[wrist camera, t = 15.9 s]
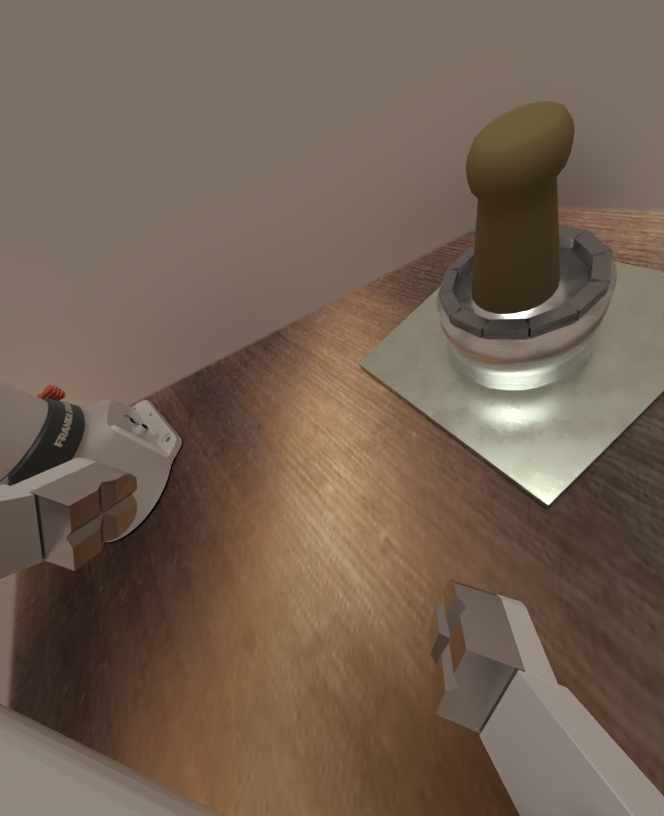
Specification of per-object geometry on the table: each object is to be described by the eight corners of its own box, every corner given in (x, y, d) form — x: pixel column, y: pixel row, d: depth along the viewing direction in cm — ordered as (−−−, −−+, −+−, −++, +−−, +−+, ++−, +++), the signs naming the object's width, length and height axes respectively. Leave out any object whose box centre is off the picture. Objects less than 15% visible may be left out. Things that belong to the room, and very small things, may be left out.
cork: (463, 277, 27) (444, 130, 19) (541, 248, 25) (559, 69, 17) (483, 324, 24) (471, 171, 16) (575, 295, 22) (617, 101, 14)
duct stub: (361, 368, 37) (332, 319, 31) (494, 243, 38) (492, 172, 32) (546, 509, 22) (562, 470, 16) (753, 303, 23) (841, 194, 17)
